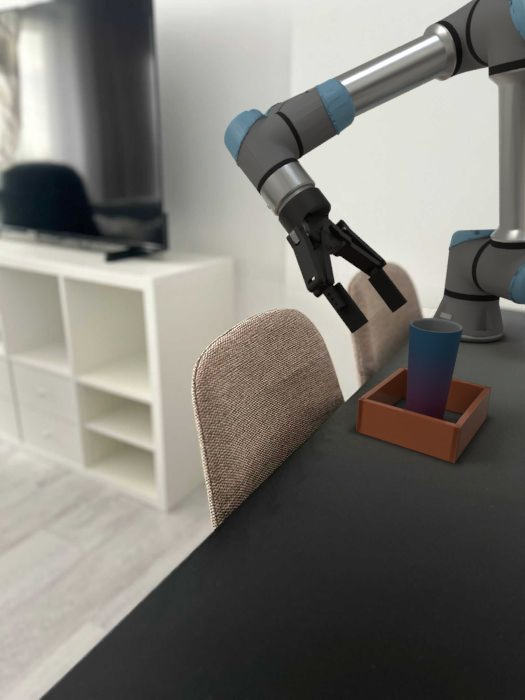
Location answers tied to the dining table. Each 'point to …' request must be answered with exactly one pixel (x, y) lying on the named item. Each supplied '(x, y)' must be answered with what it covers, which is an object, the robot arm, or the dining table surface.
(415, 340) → the cup
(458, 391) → the rectangular frame
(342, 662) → the dining table surface
